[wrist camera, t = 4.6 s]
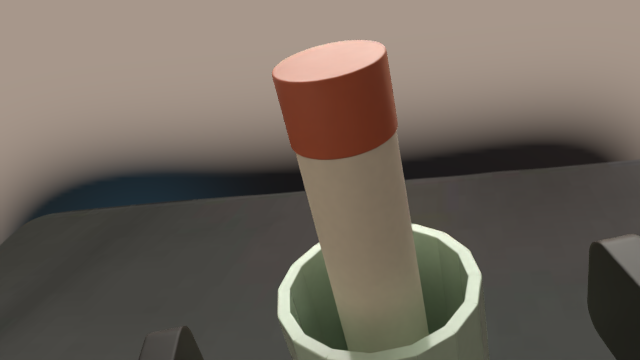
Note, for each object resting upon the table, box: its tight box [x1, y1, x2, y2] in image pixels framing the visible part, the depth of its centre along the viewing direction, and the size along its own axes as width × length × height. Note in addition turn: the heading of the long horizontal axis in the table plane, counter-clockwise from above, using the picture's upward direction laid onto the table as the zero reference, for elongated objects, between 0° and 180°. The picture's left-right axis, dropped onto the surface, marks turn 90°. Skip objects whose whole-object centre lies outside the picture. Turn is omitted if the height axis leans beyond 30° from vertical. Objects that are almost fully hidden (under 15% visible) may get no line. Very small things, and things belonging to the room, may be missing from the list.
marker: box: [272, 40, 429, 353], centre depth 24 cm, size 4×4×18 cm
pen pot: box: [277, 224, 489, 360], centre depth 27 cm, size 9×9×8 cm
